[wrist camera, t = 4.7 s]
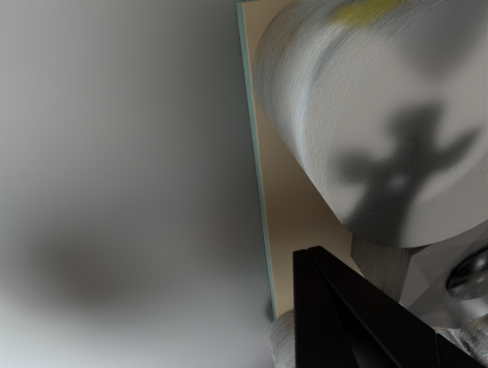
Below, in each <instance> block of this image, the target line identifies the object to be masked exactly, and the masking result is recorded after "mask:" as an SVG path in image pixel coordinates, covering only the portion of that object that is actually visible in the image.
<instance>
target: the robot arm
mask: <svg viewBox="0 0 488 368" xmlns="http://www.w3.org/2000/svg"><path fill="white" fill-rule="evenodd" d="M292 262H293V305H294V347H295V368H487V367H486V366H484V365H483V364H481V363H480V362H479V361H477V360H476V359H474V358H473V357H472V356H470V355H469V354H467V353H466V352H465V351H463V350H462V349H460V348H459V347H457V346H456V345H455V344H453V343H452V342H451V341H449V340H448V339H447V338H445V337H444V336H443V335H441V334H440V333H436V331H435V330H434V329H433V328H432V327H430V326H429V325H428V324H426V323H425V322H423V321H422V320H421V319H419V318H418V317H417V316H415V315H414V314H413V313H411V312H410V311H409V310H407V309H406V308H405V307H403V306H402V305H401V304H399V303H398V302H396V301H395V300H394V299H392V298H391V297H390V296H388V295H387V294H386V293H384V292H383V291H382V290H380V289H379V288H378V287H376V286H375V285H374V284H372V283H371V282H369V281H368V280H367V279H365V278H364V277H363V276H361V275H360V274H359V273H357V272H356V271H355V270H353V269H352V268H351V267H349V266H348V265H347V264H345V263H344V262H342V261H341V260H340V259H338V258H337V257H336V256H334V255H333V254H332V253H330V252H329V251H328V250H326V249H325V248H324V247H322V246H320V245H317V246H313V247H309V248H307V249H300V250H296V251H293V253H292Z"/></svg>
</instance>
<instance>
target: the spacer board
mask: <svg viewBox="0 0 488 368" xmlns="http://www.w3.org/2000/svg"><path fill="white" fill-rule="evenodd" d="M293 1H294V0H250V1H244V2H237V3H236V9H237V17H238V25H239V34H240V42H241V50H242V59H243V67H244V75H245V84H246V92H247V100H248V108H249V117H250V125H251V133H252V142H253V150H254V158H255V167H256V175H257V183H258V192H259V200H260V208H261V216H262V225H263V233H264V241H265V250H266V258H267V266H268V275H269V283H270V291H271V300H272V308H273V316H274V320H275V319H277V318H278V317H279V316H280V315H282V314H283V313H285V312H287V311H289V310H291V309H294V305H293V262H292V253H293V251H296V250H300V249H307V248H309V247H313V246H317V245H320V246H322V247H324V248H325V249H326V250H328V251H329V252H330V253H332V254H333V255H334V256H336V257H337V258H338V259H340V260H341V261H342V262H344V263H345V264H347V265H348V266H349V267H351V268H352V269H353V270H355V271H356V272H357V273H359V274H360V275H361V276H363V274H362V273H361V271H360V270H359V268H358V267H357V265H356V264H355V262H354V261H353V259H352V258H351V256H350V253H351V244H352V233H351V232H349V231H348V230H347V229H346V228H345V227H344V226H343V225H342V223H341V222H340V221H339V219H338V218H337V217H336V215H335V214H334V212H333V211H332V210H331V208H330V207H329V205H328V204H327V202H326V201H325V200H324V198H323V197H322V195H321V194H320V193H319V191H318V190H317V188H316V187H315V185H314V184H313V183H312V181H311V180H310V178H309V177H308V176H307V174H306V173H305V171H304V170H303V168H302V167H301V166H300V164H299V163H298V161H297V160H296V159H295V157H294V156H293V154H292V153H291V152H290V150H289V149H288V147H287V146H286V144H285V143H284V142H283V140H282V139H281V137H280V136H279V135H278V133H277V132H276V130H275V129H274V127H273V126H272V125H271V123H270V122H269V120H268V119H267V118H266V116H265V115H264V113H263V112H262V110H261V109H260V107H259V105H258V103H257V101H256V98H255V94H254V91H253V85H252V64H253V59H254V54H255V51H256V48H257V45H258V42H259V40H260V38H261V36H262V34H263V32H264V31H265V29H266V27H267V26H268V24H269V23H270V22H271V21H272V19H273V18H274V17H275V16H276V15H277V14H278V13H279V12H280V11H281V10H282V9H283V8H284V7H286V6H287V5H288V4H289V3H291V2H293ZM363 277H364V276H363ZM364 278H365V277H364Z"/></svg>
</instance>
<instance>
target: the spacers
mask: <svg viewBox="0 0 488 368" xmlns="http://www.w3.org/2000/svg"><path fill="white" fill-rule="evenodd" d="M252 85H253V91H254V94H255V98H256V101H257V103H258V105H259V107H260V109H261V110H262V112H263V113H264V115H265V116H266V118H267V119H268V120H269V122H270V123H271V125H272V126H273V127H274V129H275V130H276V132H277V133H278V135H279V136H280V137H281V139H282V140H283V142H284V143H285V144H286V146H287V147H288V149H289V150H290V152H291V153H292V154H293V156H294V157H295V159H296V160H297V161H298V163H299V164H300V166H301V167H302V168H303V170H304V171H305V173H306V174H307V176H308V177H309V178H310V180H311V181H312V183H313V184H314V185H315V187H316V188H317V190H318V191H319V193H320V194H321V195H322V197H323V198H324V200H325V201H326V202H327V204H328V205H329V207H330V208H331V210H332V211H333V212H334V214H335V215H336V217H337V218H338V219H339V221H340V222H341V223H342V225H343V226H344V227H345V228H346V229H347V230H348V231H349V232H351V233H352V234H353V235H355V236H356V237H357V238H359V239H361V240H364V241H366V242H368V243H371V244H374V245H377V246H383V247H389V248H408V247H418V246H423V245H428V244H432V243H436V242H439V241H443V240H445V239H448V238H451V237H454V236H456V235H458V234H461V233H463V232H465V231H467V230H469V229H471V228H473V227H475V226H477V225H479V224H480V223H482V222H484V221H486V220H487V219H488V0H294V1H293V2H291V3H289V4H288V5H287V6H286V7H284V8H283V9H282V10H281V11H280V12H279V13H278V14H277V15H276V16H275V17H274V18H273V19H272V21H271V22H270V23H269V24H268V26H267V27H266V29H265V31H264V32H263V34H262V36H261V38H260V40H259V42H258V45H257V48H256V51H255V54H254V59H253V64H252ZM430 327H431V326H430ZM432 328H433V329H434V330H435V331H436V333H440V334H441V335H443V336H444V337H445V338H447V339H448V340H449V341H451V342H452V343H453V344H455V345H456V346H457V347H459V348H460V349H462V350H463V351H465V352H466V353H467V354H469V355H470V356H472V357H473V358H474V359H476V360H477V361H479V362H480V363H481V364H483V365H484V366H486V367H487V368H488V314H486V315H484V316H482V317H480V318H478V319H476V320H474V321H472V322H470V323H468V324H466V325H464V326H462V327H461V328H459V329H449V328H440V327H432ZM267 337H268V341H269V345H270V350H271V354H272V358H273V362H274V366H275V368H295V347H294V309H291V310H289V311H287V312H285V313H283V314H282V315H280V316H279V317H278V318H277V319H275V320H274V321H273V323H272V324H271V325H270V327H269V329H268V332H267Z"/></svg>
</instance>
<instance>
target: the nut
mask: <svg viewBox="0 0 488 368" xmlns="http://www.w3.org/2000/svg"><path fill="white" fill-rule="evenodd" d="M350 256H351V258H352V259H353V261H354V262H355V264H356V265H357V267H358V268H359V270H360V271H361V273H362V274H363V276H364V277H365V279H367V280H368V281H369V282H371V283H372V284H374V285H375V286H376V287H378V288H379V289H380V290H382V291H383V292H384V293H386V294H387V295H388V296H390V297H391V298H392V299H394V300H395V301H396V302H398V303H399V304H401V305H402V306H403V307H405V308H406V309H407V310H409V311H410V312H411V313H413V314H414V315H415V316H417V317H418V318H419V319H421V320H422V321H423V322H425V323H426V324H428V325H429V326H431V327H440V328H449V329H459V328H461V327H462V326H464V325H466V324H468V323H470V322H472V321H474V320H476V319H478V318H480V317H482V316H484V315H486V314H488V219H487V220H486V221H484V222H482V223H480V224H479V225H477V226H475V227H473V228H471V229H469V230H467V231H465V232H463V233H461V234H458V235H456V236H454V237H451V238H448V239H445V240H443V241H439V242H436V243H432V244H428V245H423V246H418V247H408V248H389V247H383V246H377V245H374V244H371V243H368V242H366V241H364V240H361V239H359V238H357V237H356V236H355V235H353V234H352V244H351V253H350Z"/></svg>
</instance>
